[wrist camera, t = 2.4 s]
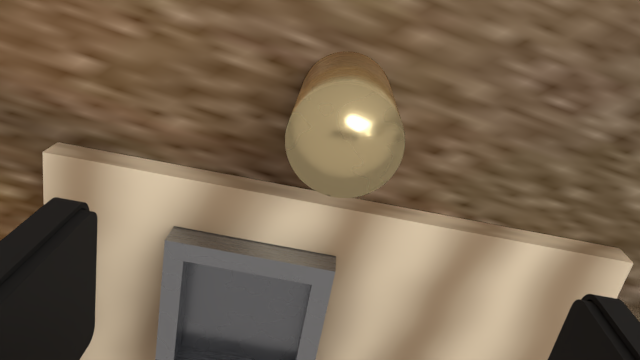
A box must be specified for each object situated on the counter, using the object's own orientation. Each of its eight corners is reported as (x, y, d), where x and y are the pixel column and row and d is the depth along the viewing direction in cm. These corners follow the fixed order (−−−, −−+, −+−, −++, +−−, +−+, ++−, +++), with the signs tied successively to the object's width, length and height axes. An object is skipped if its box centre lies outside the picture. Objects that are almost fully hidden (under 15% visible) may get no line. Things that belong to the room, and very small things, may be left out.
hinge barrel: (410, 94, 26) (430, 139, 20) (348, 157, 27) (348, 219, 21) (342, 31, 25) (340, 58, 19) (282, 100, 26) (260, 147, 20)
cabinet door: (619, 248, 28) (648, 279, 26) (531, 438, 34) (548, 480, 31) (57, 142, 28) (25, 162, 25) (59, 353, 33) (33, 389, 30)
